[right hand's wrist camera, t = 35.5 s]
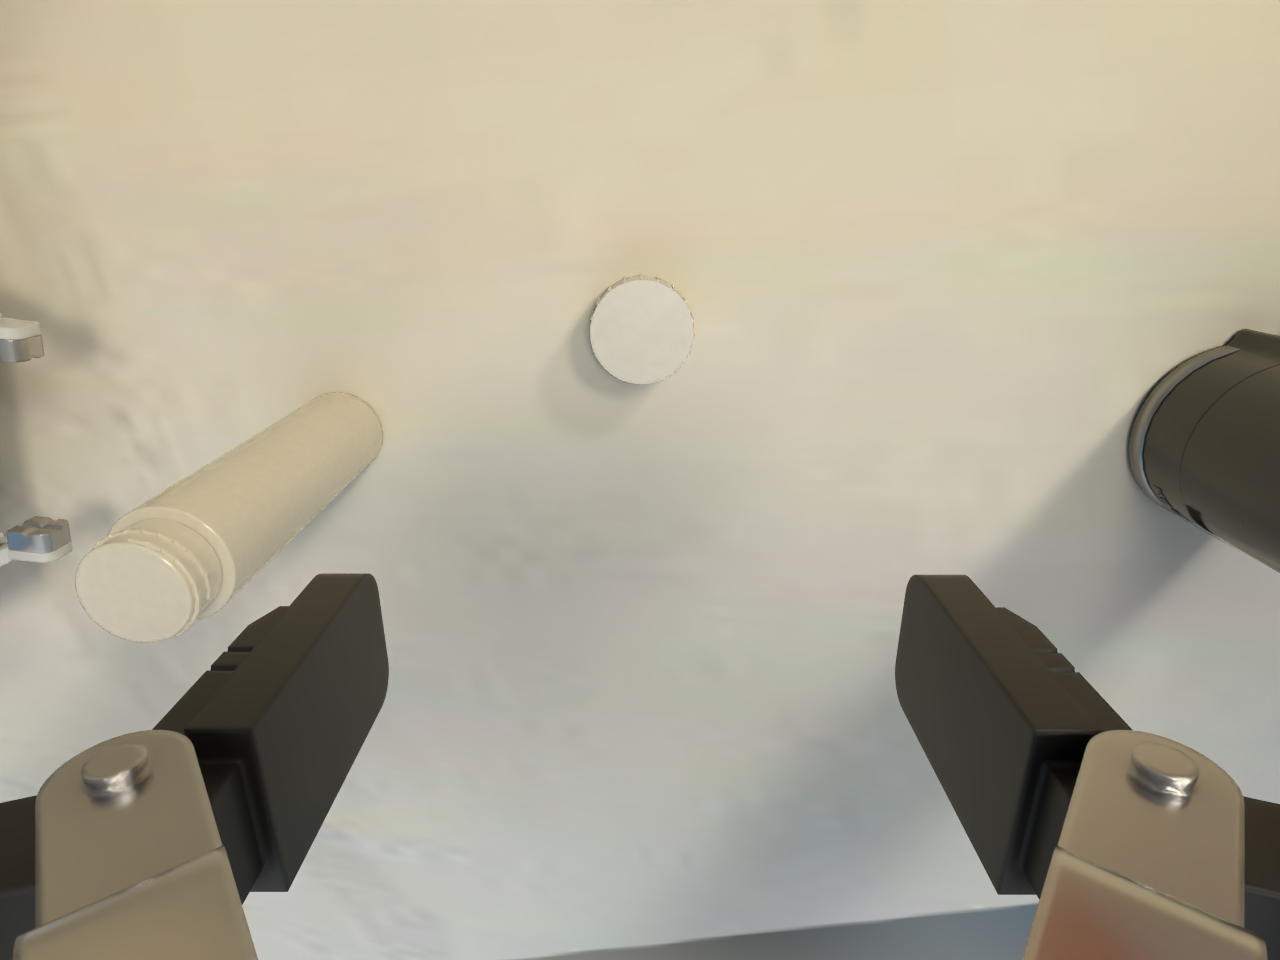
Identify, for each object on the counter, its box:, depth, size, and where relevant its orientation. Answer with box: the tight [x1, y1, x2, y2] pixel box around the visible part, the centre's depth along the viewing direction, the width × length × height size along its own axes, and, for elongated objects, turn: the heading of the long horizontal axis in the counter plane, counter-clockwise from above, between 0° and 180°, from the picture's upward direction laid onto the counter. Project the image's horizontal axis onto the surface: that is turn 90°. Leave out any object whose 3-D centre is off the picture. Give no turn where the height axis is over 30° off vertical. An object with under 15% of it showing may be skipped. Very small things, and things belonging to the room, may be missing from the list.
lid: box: [589, 274, 695, 384], centre depth 37 cm, size 5×5×2 cm
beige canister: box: [75, 392, 383, 643], centre depth 32 cm, size 4×4×18 cm
